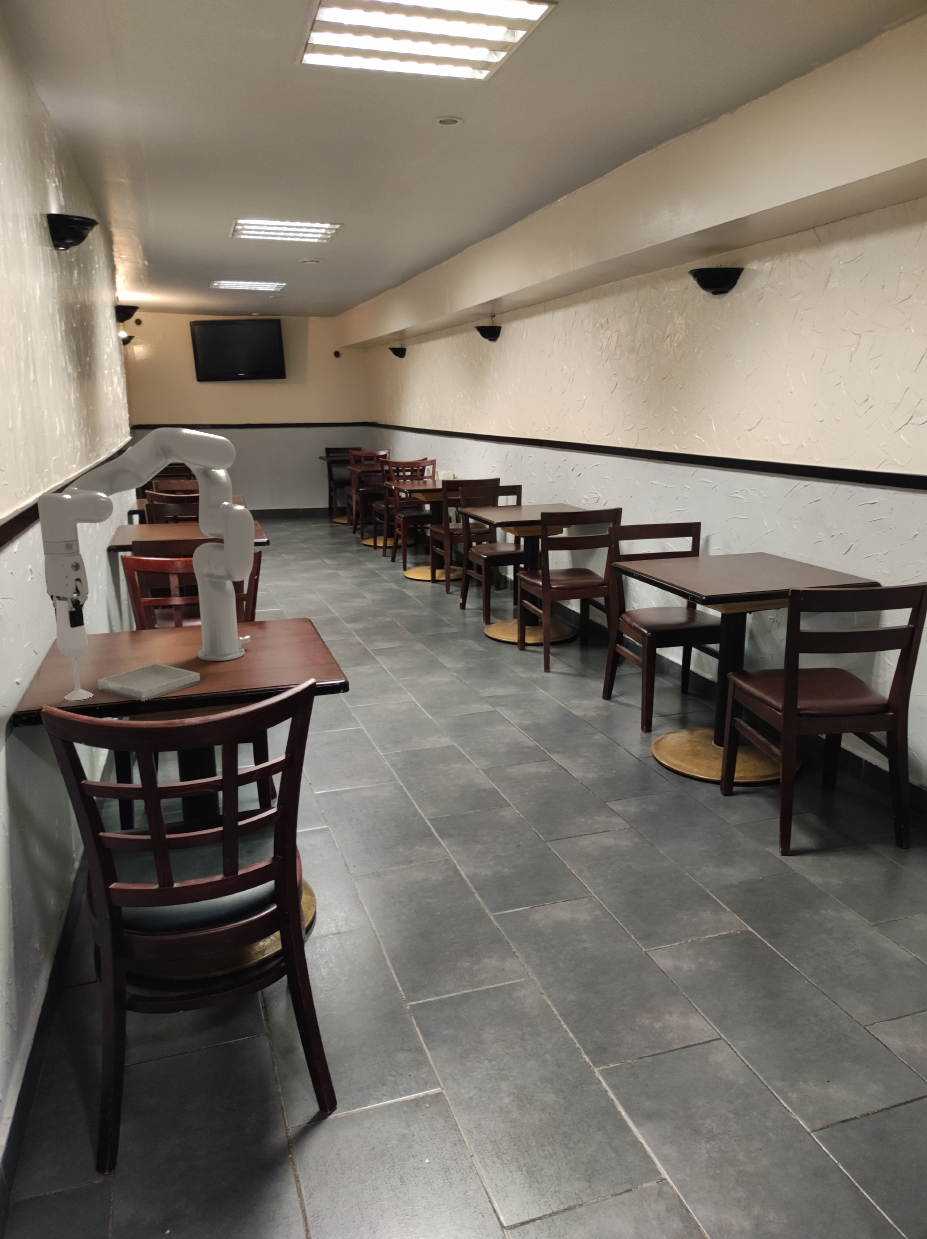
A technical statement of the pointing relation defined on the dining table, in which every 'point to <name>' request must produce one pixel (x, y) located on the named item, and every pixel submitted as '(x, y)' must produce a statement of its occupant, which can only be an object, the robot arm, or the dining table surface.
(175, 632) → the dining table surface
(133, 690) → the serving tray
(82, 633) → the champagne flute
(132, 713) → the dining table surface
